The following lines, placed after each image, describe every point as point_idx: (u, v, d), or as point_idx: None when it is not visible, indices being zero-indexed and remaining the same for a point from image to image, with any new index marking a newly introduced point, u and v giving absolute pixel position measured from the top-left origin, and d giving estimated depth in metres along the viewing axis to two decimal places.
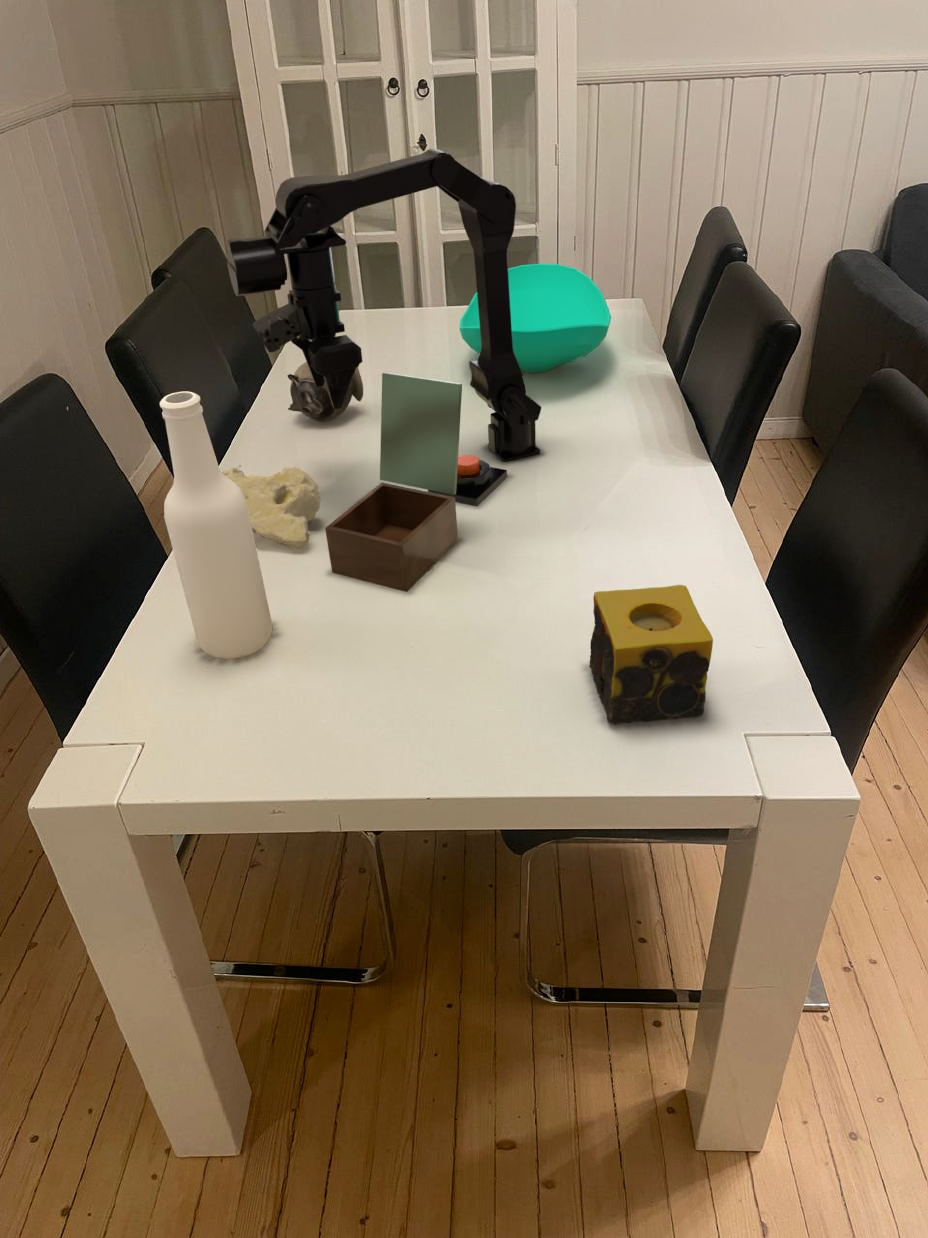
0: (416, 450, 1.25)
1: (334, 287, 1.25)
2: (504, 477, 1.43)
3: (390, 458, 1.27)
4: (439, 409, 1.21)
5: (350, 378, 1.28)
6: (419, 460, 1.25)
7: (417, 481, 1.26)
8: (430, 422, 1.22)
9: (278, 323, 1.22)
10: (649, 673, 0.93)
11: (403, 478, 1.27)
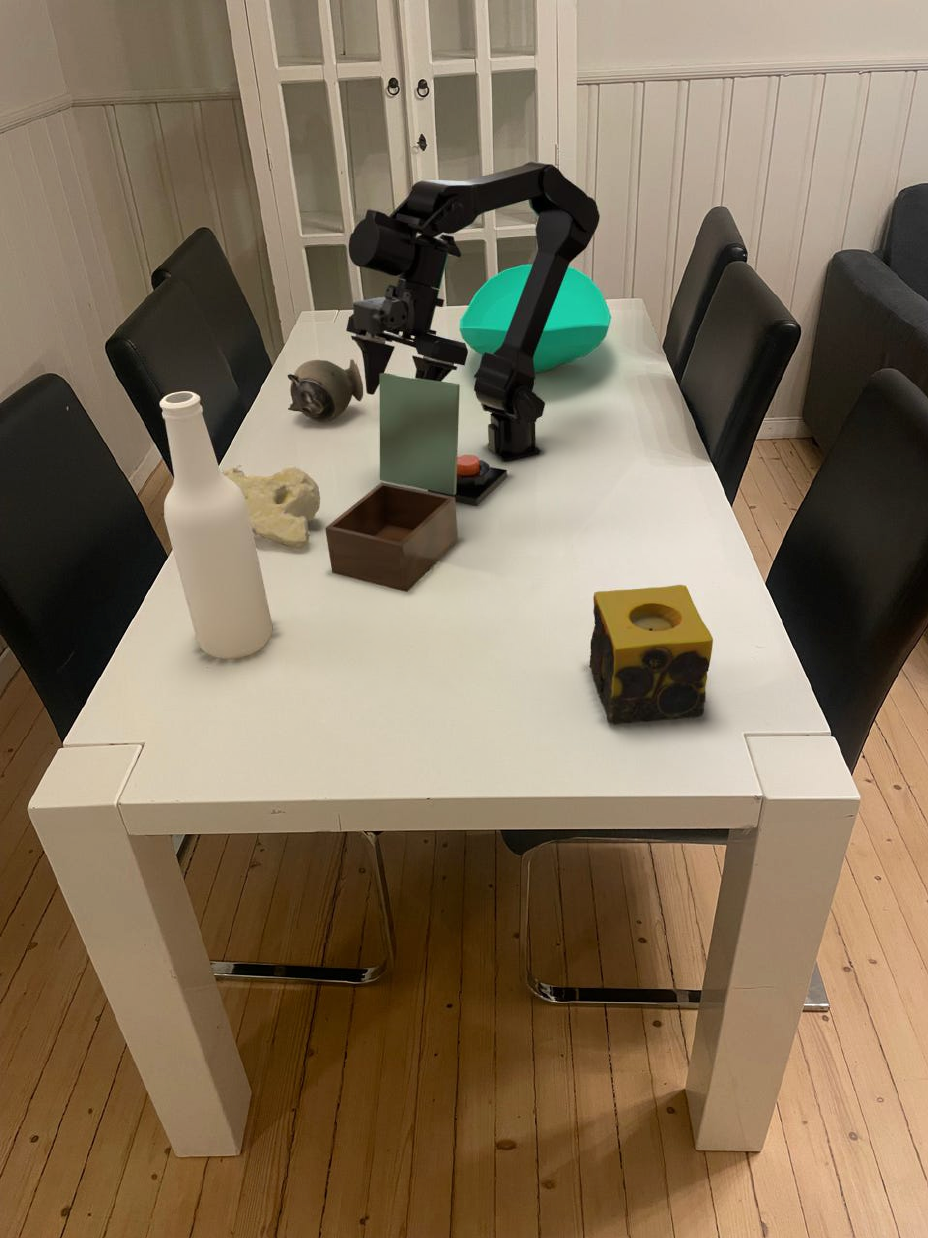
0: (415, 450, 1.25)
1: None
2: (504, 477, 1.43)
3: (389, 458, 1.27)
4: (437, 410, 1.21)
5: None
6: (419, 461, 1.25)
7: (417, 481, 1.26)
8: (428, 423, 1.22)
9: (399, 304, 1.19)
10: (649, 673, 0.93)
11: (403, 478, 1.27)
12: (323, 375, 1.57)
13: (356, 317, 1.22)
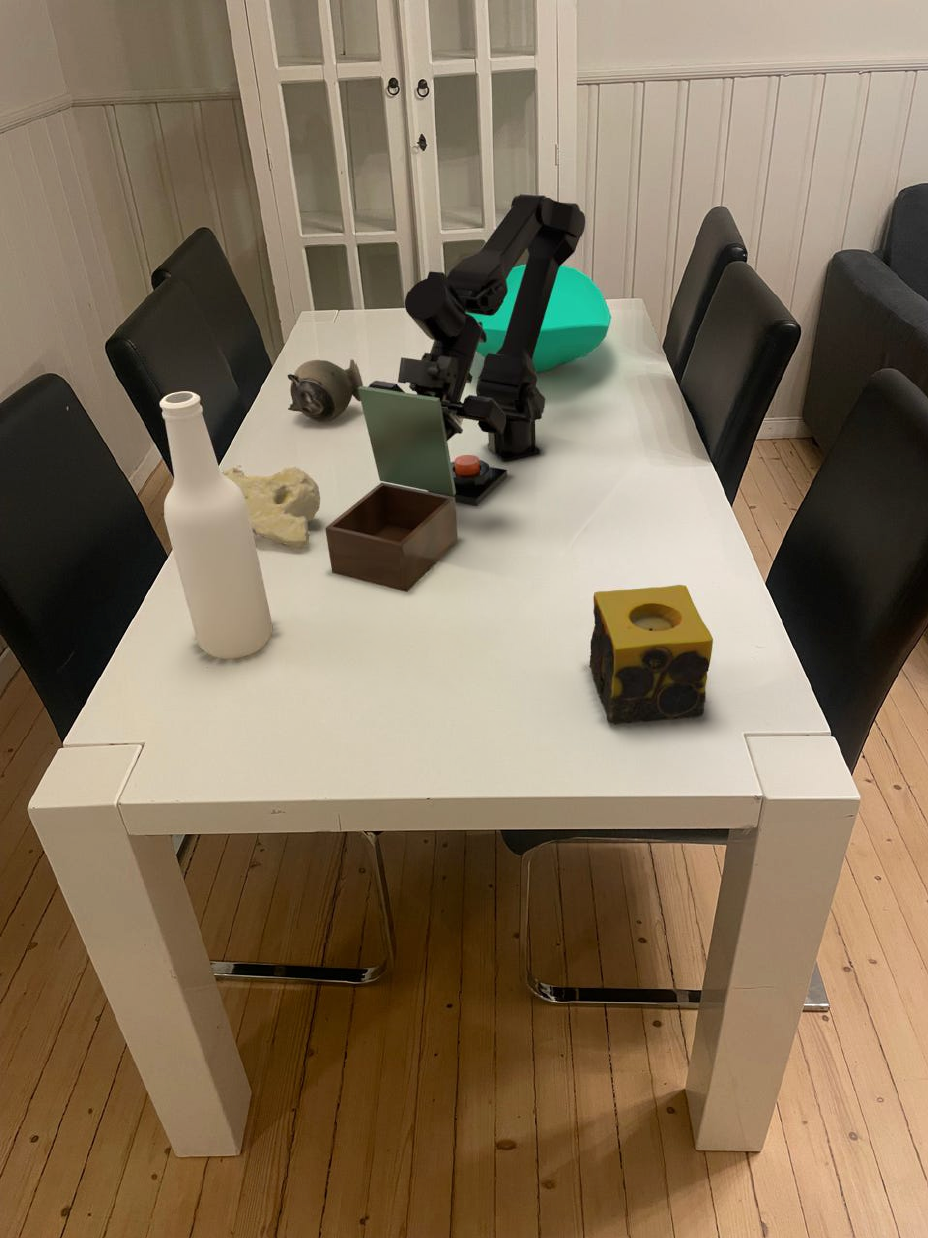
0: (408, 457, 1.23)
1: None
2: (504, 477, 1.43)
3: (385, 463, 1.26)
4: (422, 422, 1.18)
5: None
6: (414, 466, 1.24)
7: (416, 483, 1.26)
8: (416, 433, 1.20)
9: (455, 361, 1.19)
10: (649, 673, 0.93)
11: (402, 480, 1.27)
12: (323, 375, 1.57)
13: (404, 371, 1.20)
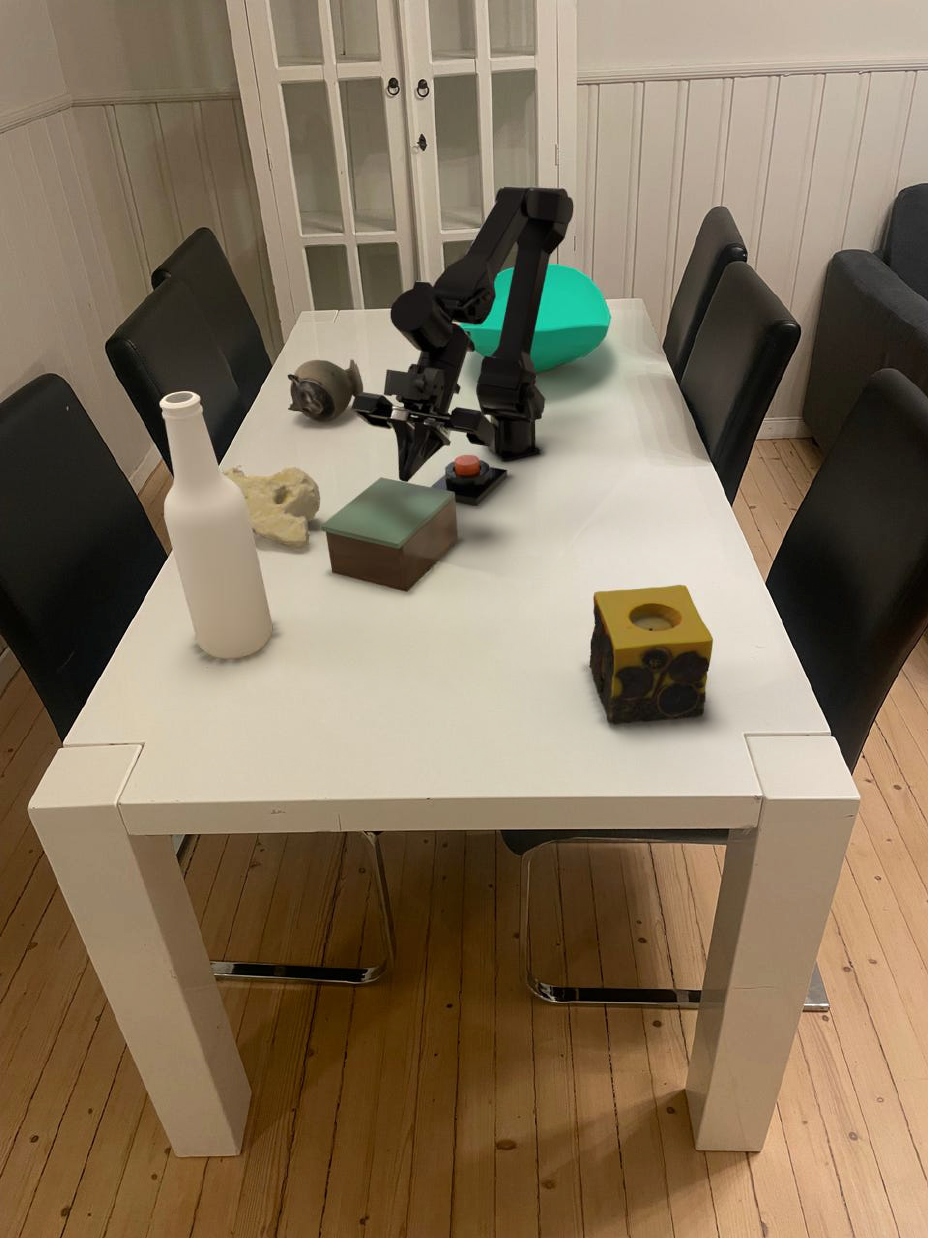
0: None
1: None
2: (504, 477, 1.43)
3: None
4: None
5: (430, 455, 1.25)
6: None
7: None
8: None
9: (442, 373, 1.17)
10: (649, 673, 0.93)
11: None
12: (323, 375, 1.57)
13: (390, 383, 1.17)
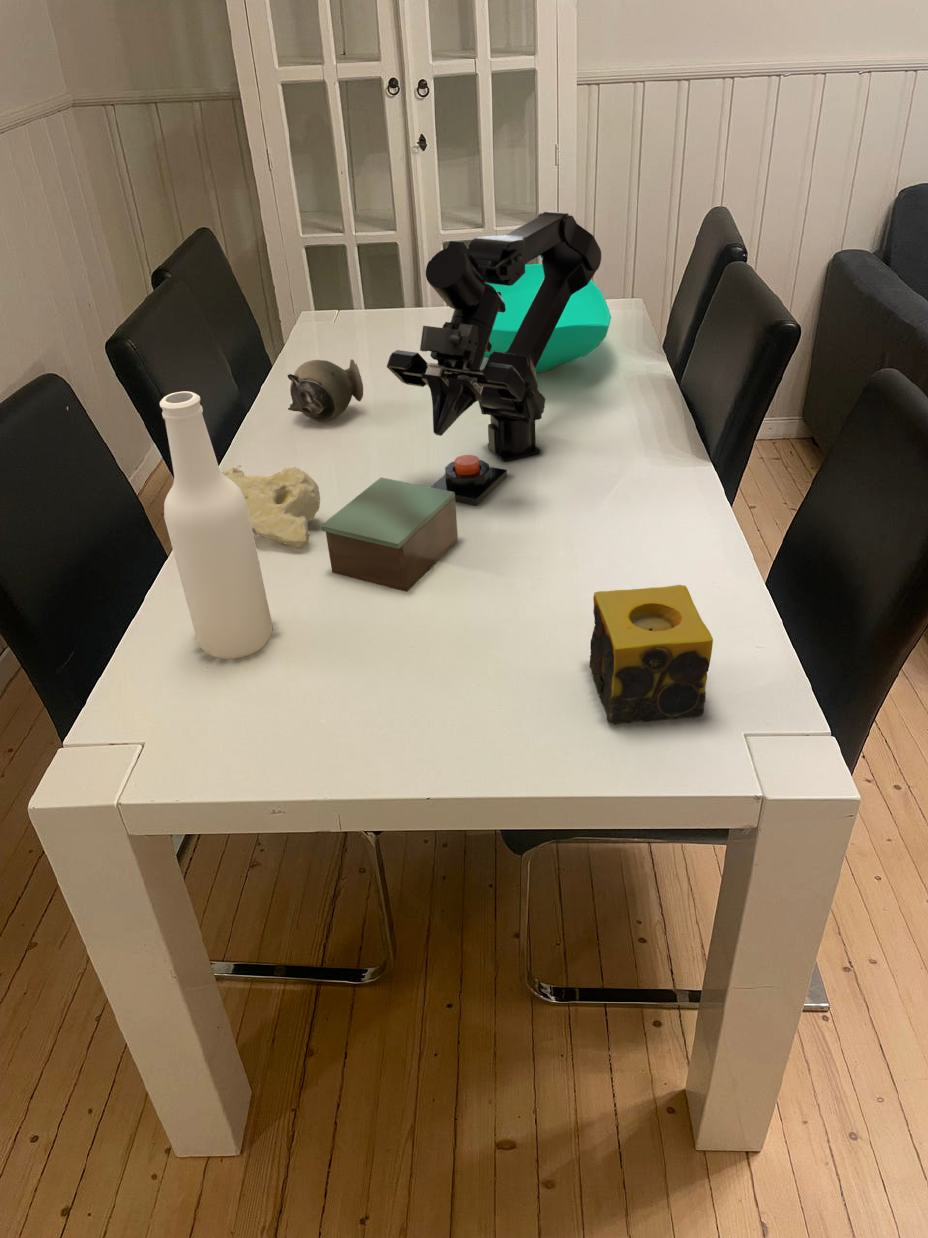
0: None
1: None
2: (504, 477, 1.43)
3: None
4: None
5: (463, 411, 1.30)
6: None
7: None
8: None
9: (476, 329, 1.22)
10: (649, 673, 0.93)
11: None
12: (323, 375, 1.57)
13: (426, 339, 1.23)
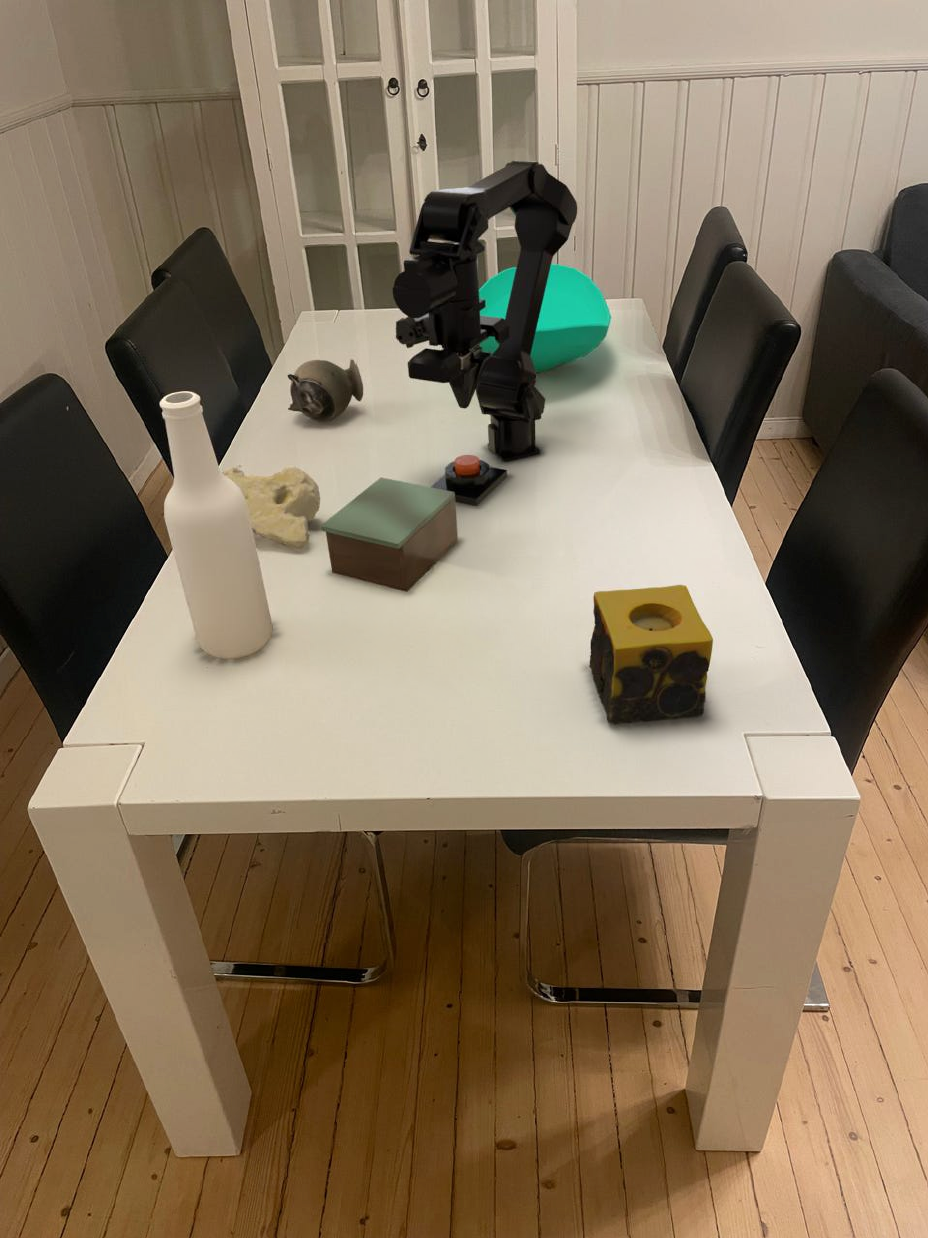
0: None
1: (468, 303, 1.24)
2: (504, 477, 1.43)
3: None
4: None
5: (468, 383, 1.30)
6: None
7: None
8: None
9: (402, 323, 1.27)
10: (649, 673, 0.93)
11: None
12: (323, 375, 1.57)
13: None
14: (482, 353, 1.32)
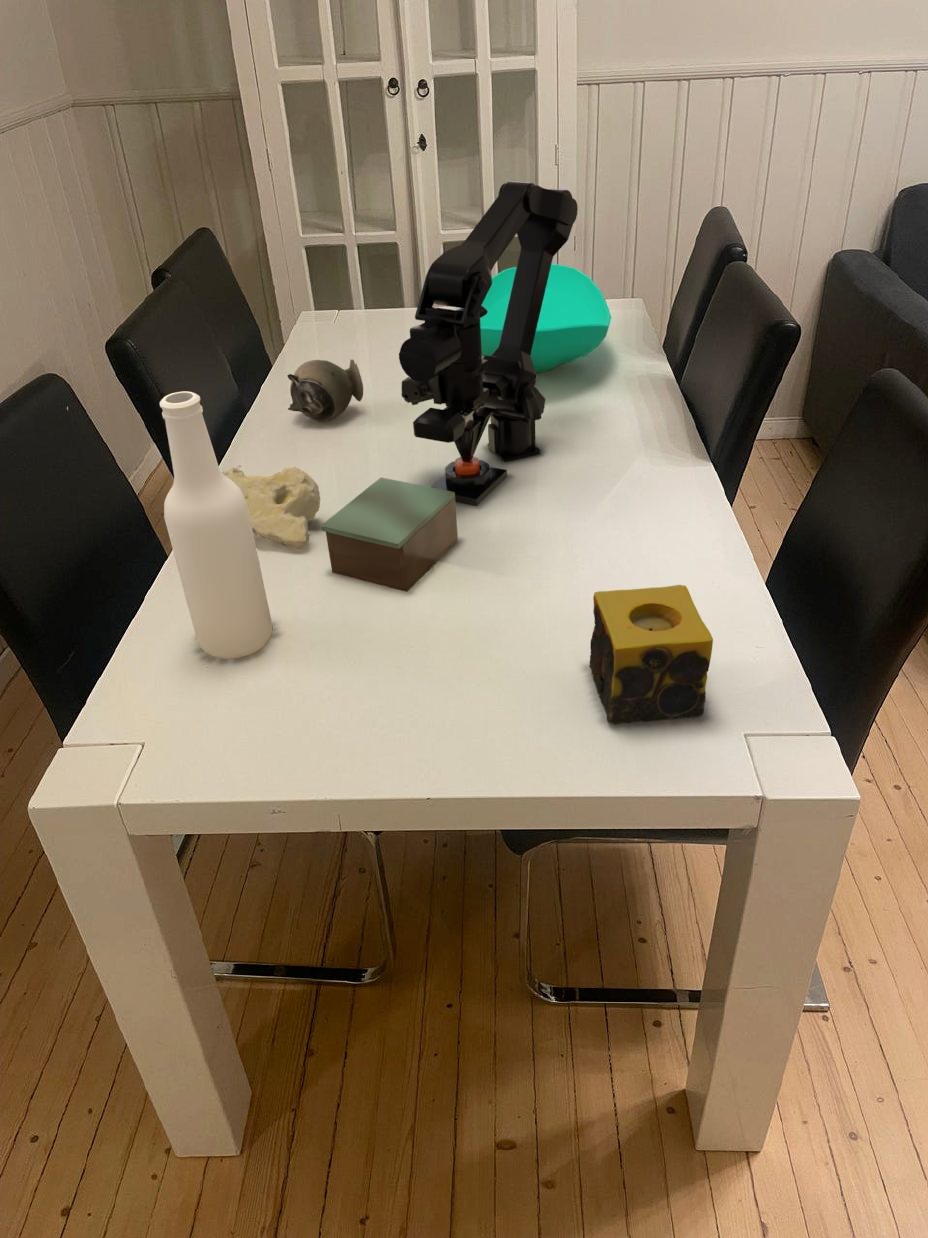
0: None
1: (471, 365, 1.28)
2: (504, 477, 1.43)
3: None
4: None
5: (471, 439, 1.35)
6: None
7: None
8: None
9: (408, 382, 1.31)
10: (649, 673, 0.93)
11: None
12: (323, 375, 1.57)
13: None
14: (485, 410, 1.36)
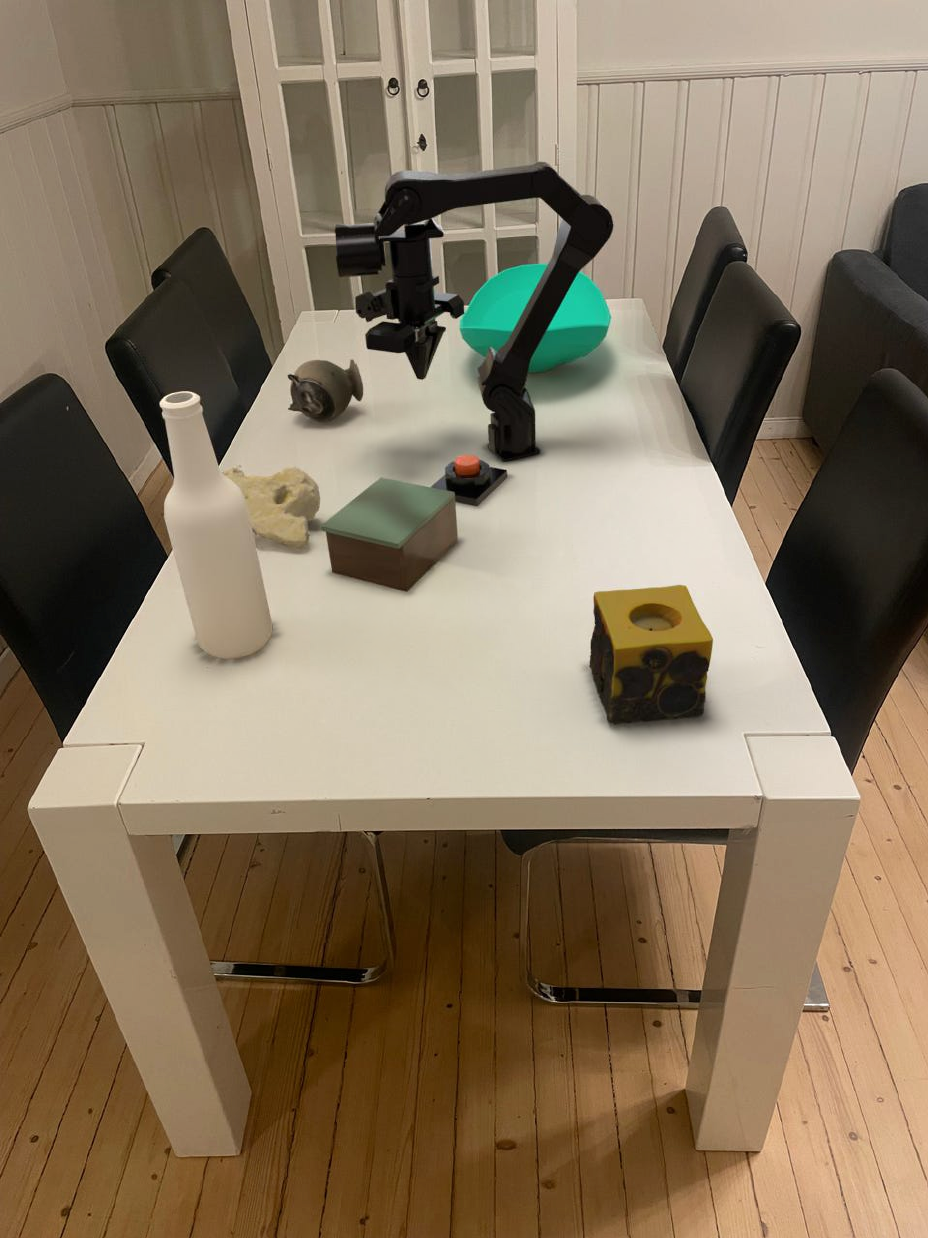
0: None
1: (421, 279, 1.32)
2: (504, 477, 1.43)
3: None
4: None
5: (423, 355, 1.38)
6: None
7: None
8: None
9: (361, 297, 1.35)
10: (649, 673, 0.93)
11: None
12: (323, 375, 1.57)
13: None
14: (438, 327, 1.40)
